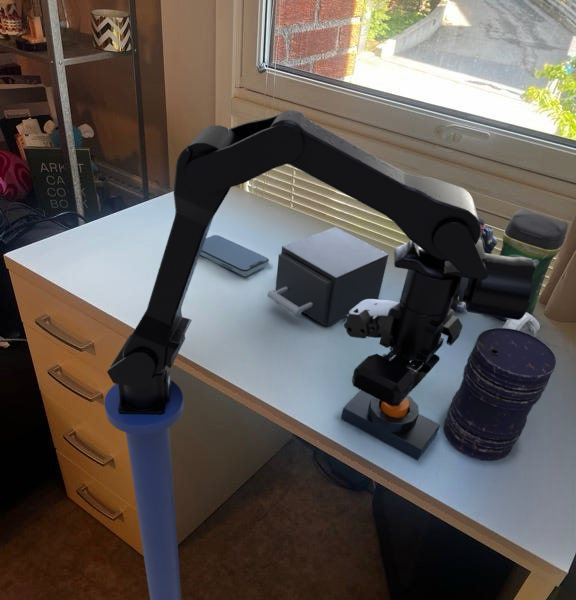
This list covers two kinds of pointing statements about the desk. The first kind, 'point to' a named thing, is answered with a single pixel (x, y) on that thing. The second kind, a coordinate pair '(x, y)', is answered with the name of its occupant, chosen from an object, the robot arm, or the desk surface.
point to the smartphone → (232, 255)
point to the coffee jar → (533, 244)
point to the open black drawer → (301, 288)
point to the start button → (395, 409)
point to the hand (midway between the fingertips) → (395, 400)
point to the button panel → (391, 424)
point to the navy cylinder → (497, 393)
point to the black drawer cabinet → (342, 268)
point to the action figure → (488, 246)
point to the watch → (523, 324)
